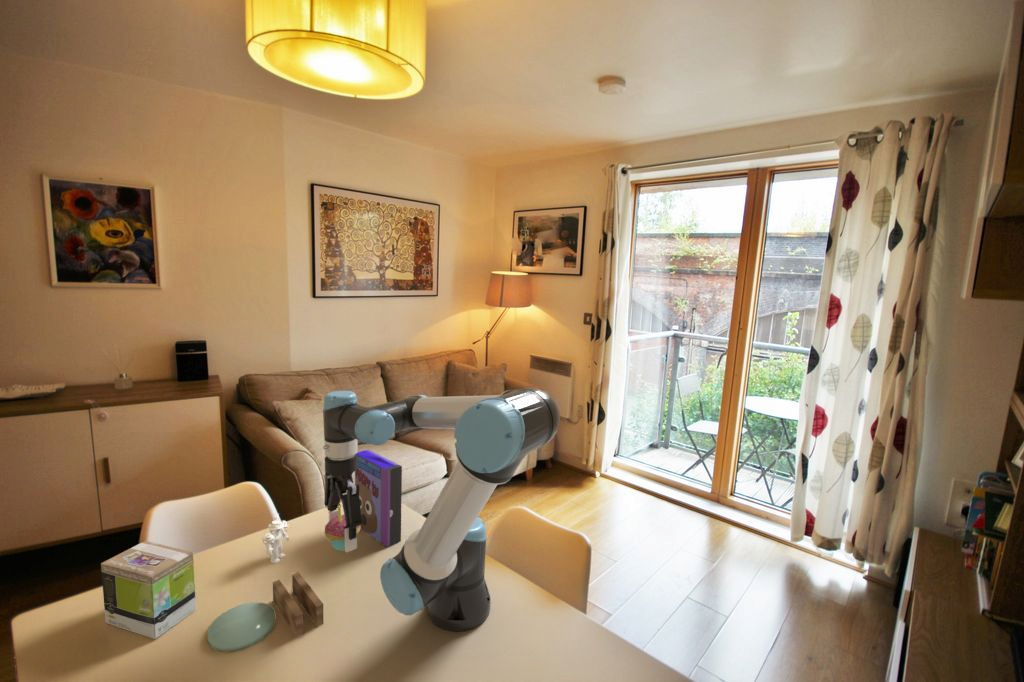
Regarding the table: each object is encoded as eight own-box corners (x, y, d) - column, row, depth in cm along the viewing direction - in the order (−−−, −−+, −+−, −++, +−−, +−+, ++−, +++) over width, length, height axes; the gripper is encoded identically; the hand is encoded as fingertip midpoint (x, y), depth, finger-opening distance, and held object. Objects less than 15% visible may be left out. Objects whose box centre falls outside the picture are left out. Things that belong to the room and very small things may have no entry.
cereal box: (354, 525, 145) (354, 453, 142) (368, 519, 149) (368, 449, 145) (387, 547, 134) (388, 470, 131) (400, 541, 138) (401, 465, 134)
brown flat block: (323, 623, 105) (323, 603, 104) (316, 626, 104) (316, 606, 103) (298, 589, 115) (298, 571, 114) (292, 592, 114) (292, 574, 113)
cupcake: (353, 555, 110) (352, 509, 108) (318, 554, 110) (317, 507, 109) (365, 535, 119) (365, 492, 117) (332, 534, 119) (332, 490, 117)
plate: (283, 629, 102) (283, 624, 102) (216, 662, 93) (215, 657, 93) (264, 598, 111) (264, 594, 111) (201, 625, 102) (201, 621, 102)
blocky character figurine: (280, 548, 131) (279, 509, 130) (293, 550, 131) (292, 510, 129) (259, 568, 123) (258, 526, 121) (273, 569, 122) (272, 528, 120)
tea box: (198, 609, 107) (195, 551, 105) (154, 641, 98) (150, 578, 96) (149, 594, 111) (145, 538, 109) (103, 624, 102) (97, 562, 99)
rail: (303, 633, 101) (302, 613, 101) (296, 637, 100) (295, 616, 100) (279, 598, 112) (279, 579, 111) (273, 600, 111) (272, 582, 110)
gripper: (308, 446, 116) (310, 530, 119) (345, 472, 101) (347, 567, 104) (337, 439, 121) (339, 520, 124) (376, 463, 107) (377, 554, 109)
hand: (342, 541), depth 114 cm, fingers closed on cupcake, 8 cm apart
